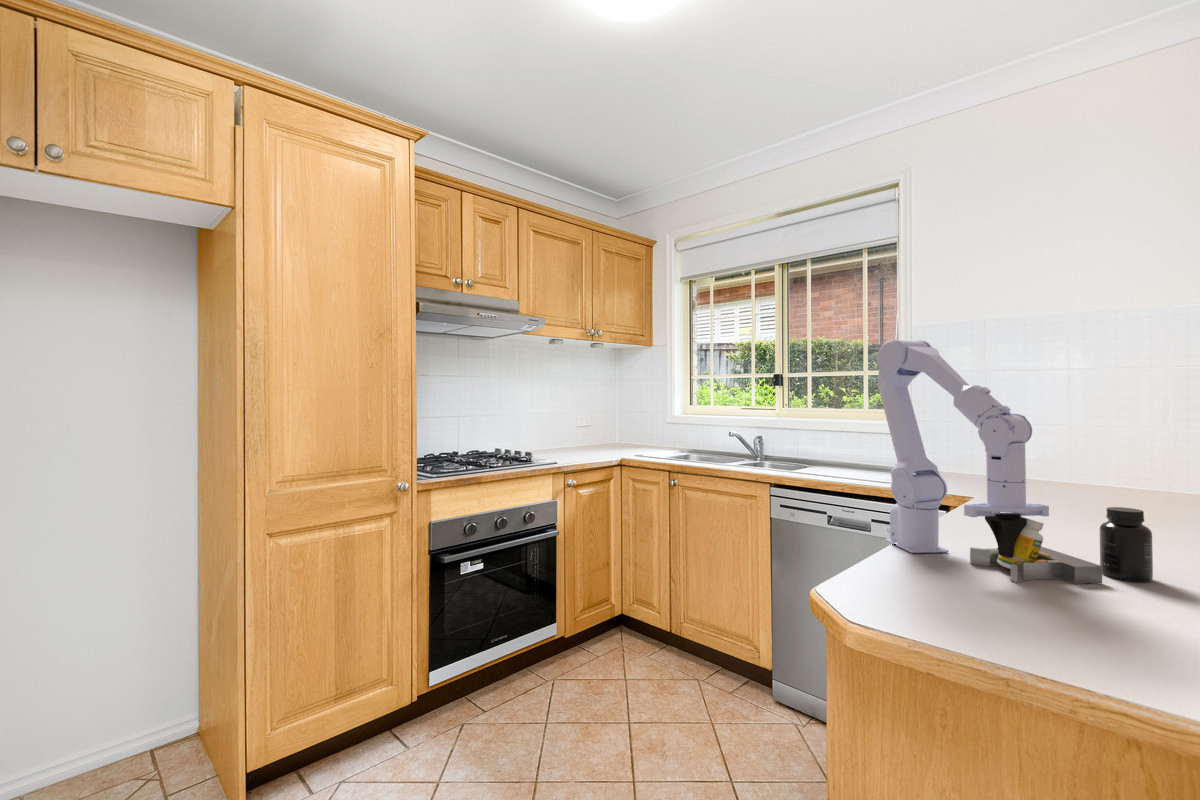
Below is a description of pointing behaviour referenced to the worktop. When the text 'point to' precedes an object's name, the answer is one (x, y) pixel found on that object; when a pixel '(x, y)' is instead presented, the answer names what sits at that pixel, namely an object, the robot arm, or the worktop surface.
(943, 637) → the worktop surface
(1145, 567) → the supplement bottle
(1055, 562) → the grey pronged bracket
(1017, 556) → the supplement bottle
